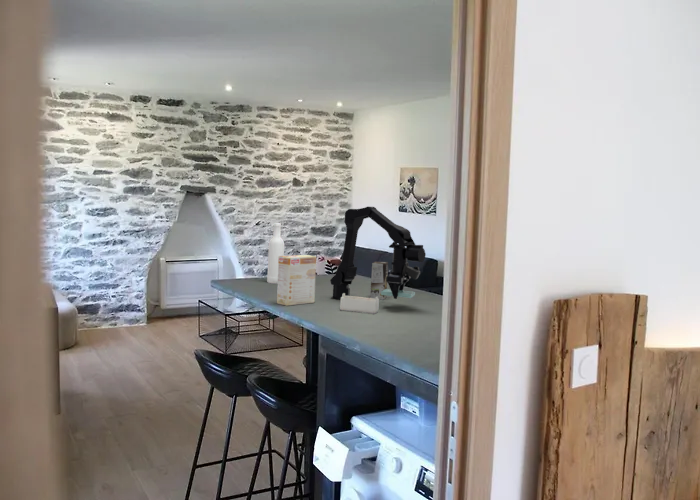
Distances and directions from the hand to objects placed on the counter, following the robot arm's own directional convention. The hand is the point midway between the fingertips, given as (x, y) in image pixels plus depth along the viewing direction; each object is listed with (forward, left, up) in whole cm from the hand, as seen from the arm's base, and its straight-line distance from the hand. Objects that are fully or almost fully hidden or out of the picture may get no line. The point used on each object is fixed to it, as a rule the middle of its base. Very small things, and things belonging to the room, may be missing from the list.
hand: (397, 297), depth 252 cm
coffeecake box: (-40, -12, -5) cm, 42 cm away
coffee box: (-14, +22, -5) cm, 26 cm away
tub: (-12, -14, -4) cm, 19 cm away
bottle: (-72, +37, -5) cm, 81 cm away
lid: (0, 0, +1) cm, 1 cm away
